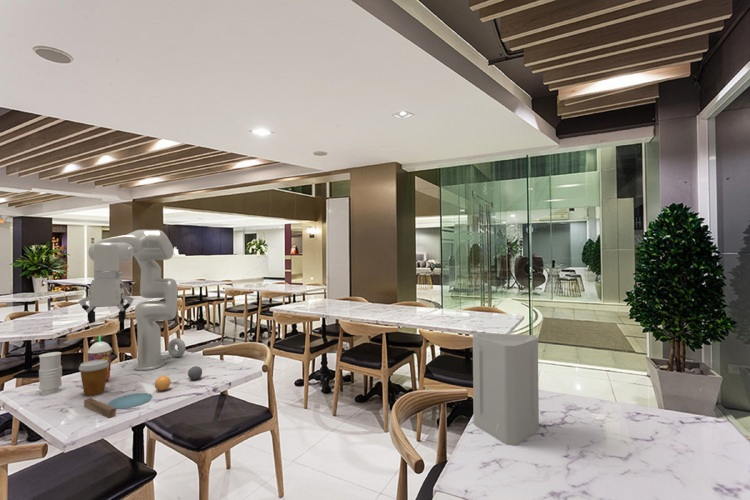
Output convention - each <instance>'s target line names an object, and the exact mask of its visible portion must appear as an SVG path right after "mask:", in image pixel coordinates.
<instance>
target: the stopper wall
mask: <svg viewBox="0 0 750 500" xmlns="http://www.w3.org/2000/svg"><path fill="white" fill-rule="evenodd" d="M107 404H108V403H107ZM107 404H106V403H104V402H102V401H100V400H97V399H94V398H93V397H92V398H91V397H90V398H86V399H84V402H83V406H84V408H86V409H88V410H90V411H92V412H95V413H97V414H99V415H101V416H103V417H106V418H108V419H110V418H114V417H116V416H117V409H116V408H114V407H111V406H109V405H107Z"/></svg>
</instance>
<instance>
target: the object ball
mask: <svg viewBox="0 0 750 500" xmlns="http://www.w3.org/2000/svg"><path fill="white" fill-rule="evenodd" d="M171 381H172V380H171V379H170V377H169V376H168V375H161V376H159V377H157V378H156V379H155V381H154V388H155V390H157V391H160V392H161V391H166V390H167V389H168V388H169V387H170V386H171V383H172V382H171Z"/></svg>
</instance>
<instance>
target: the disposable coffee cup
mask: <svg viewBox="0 0 750 500" xmlns="http://www.w3.org/2000/svg"><path fill="white" fill-rule="evenodd" d="M108 365H109V363H108V361H107V360H104V359H102V360H92V361H88V360H87V361H85V362H81V364H80V365H79V367H78V370H79V373H80V377H81V383H82V390H83V394H84V396H86V397H93V396H97V395H100V394H103V393H104V392H105V389H106V387H105V386H106V383H107V382H106V374H107V367H108Z"/></svg>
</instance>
